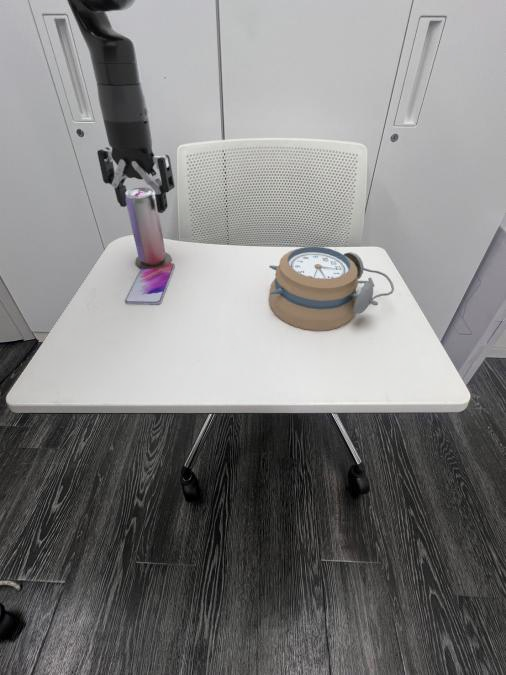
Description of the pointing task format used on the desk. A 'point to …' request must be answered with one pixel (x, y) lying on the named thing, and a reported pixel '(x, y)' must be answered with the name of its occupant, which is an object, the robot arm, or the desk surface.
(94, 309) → the desk surface
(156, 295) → the smartphone
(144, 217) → the beverage can
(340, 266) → the alarm clock
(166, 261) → the coaster
